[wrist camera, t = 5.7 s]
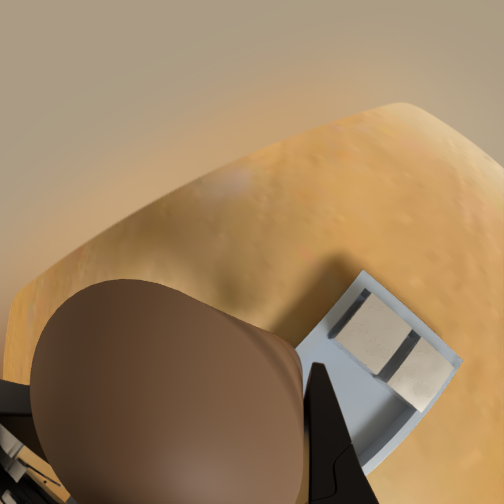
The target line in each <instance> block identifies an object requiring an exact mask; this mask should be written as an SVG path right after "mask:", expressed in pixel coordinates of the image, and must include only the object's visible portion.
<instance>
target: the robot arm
mask: <svg viewBox="0 0 504 504" xmlns="http://www.w3.org/2000/svg"><path fill="white" fill-rule="evenodd" d="M303 412H304V438H303V472H302V480H301V487H300V491H299V494H298V496H297V499H296V502H295V504H379V502H378V500H377V498H376V496H375V494H374V492H373V490H372V488H371V486H370V484H369V482H368V480H367V478H366V476H365V474H364V472H363V469H362V467H361V465H360V462H359V460H358V457H357V454H356V452H355V448H354V445H353V444H351V443H352V440H351V437H350V434H349V431H348V428H347V425H346V422H345V419H344V417H343V414H342V411H341V408H340V405H339V402H338V399H337V397H336V394H335V391H334V388H333V386H332V383H331V380H330V377H329V374H328V372H327V369H326V366H325V364H324V363H319V362H313V363H312V365H311V369H310V372H309V376H308V380H307V384H306V389H305V393H304V398H303ZM70 496H71V495H70V494H69V493H68V491H67V490H66V489H65V487H64V486H63V485H62V483H61V482H60V480H59V479H58V477H57V476H56V474H55V473H54V471H53V469H52V467H51V466H50V464H49V462H48V460H47V458H46V456H45V453H44V451H43V449H42V446H41V444H40V441H39V438H38V435H37V432H36V428H35V424H34V420H33V415H32V409H31V400H30V385H23V384H18V383H14V382H9V381H5V380H1V379H0V500H1V502H2V503H3V504H66V502H67V500H68V499H69V497H70Z"/></svg>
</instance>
